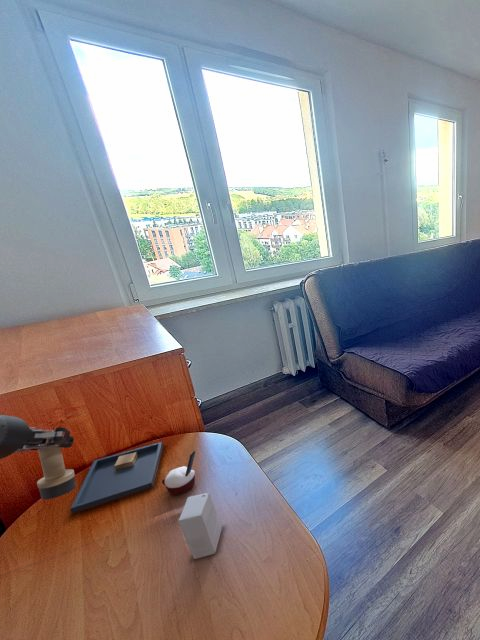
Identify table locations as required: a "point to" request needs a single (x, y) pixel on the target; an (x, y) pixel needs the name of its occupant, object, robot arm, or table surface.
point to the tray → (118, 477)
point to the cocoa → (180, 478)
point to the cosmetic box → (200, 525)
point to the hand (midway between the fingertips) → (59, 443)
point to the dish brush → (54, 474)
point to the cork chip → (126, 461)
